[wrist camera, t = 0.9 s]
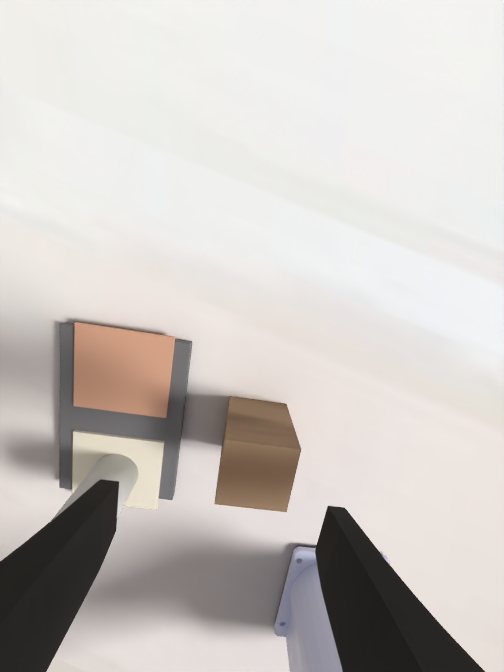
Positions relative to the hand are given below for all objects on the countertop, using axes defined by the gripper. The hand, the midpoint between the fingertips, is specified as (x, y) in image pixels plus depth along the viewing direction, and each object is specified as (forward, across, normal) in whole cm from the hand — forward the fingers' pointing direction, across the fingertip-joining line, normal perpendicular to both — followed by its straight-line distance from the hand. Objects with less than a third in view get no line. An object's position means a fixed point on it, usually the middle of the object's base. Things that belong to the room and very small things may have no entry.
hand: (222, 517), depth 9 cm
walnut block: (+10, -2, +2) cm, 10 cm away
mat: (+10, +7, +3) cm, 12 cm away
